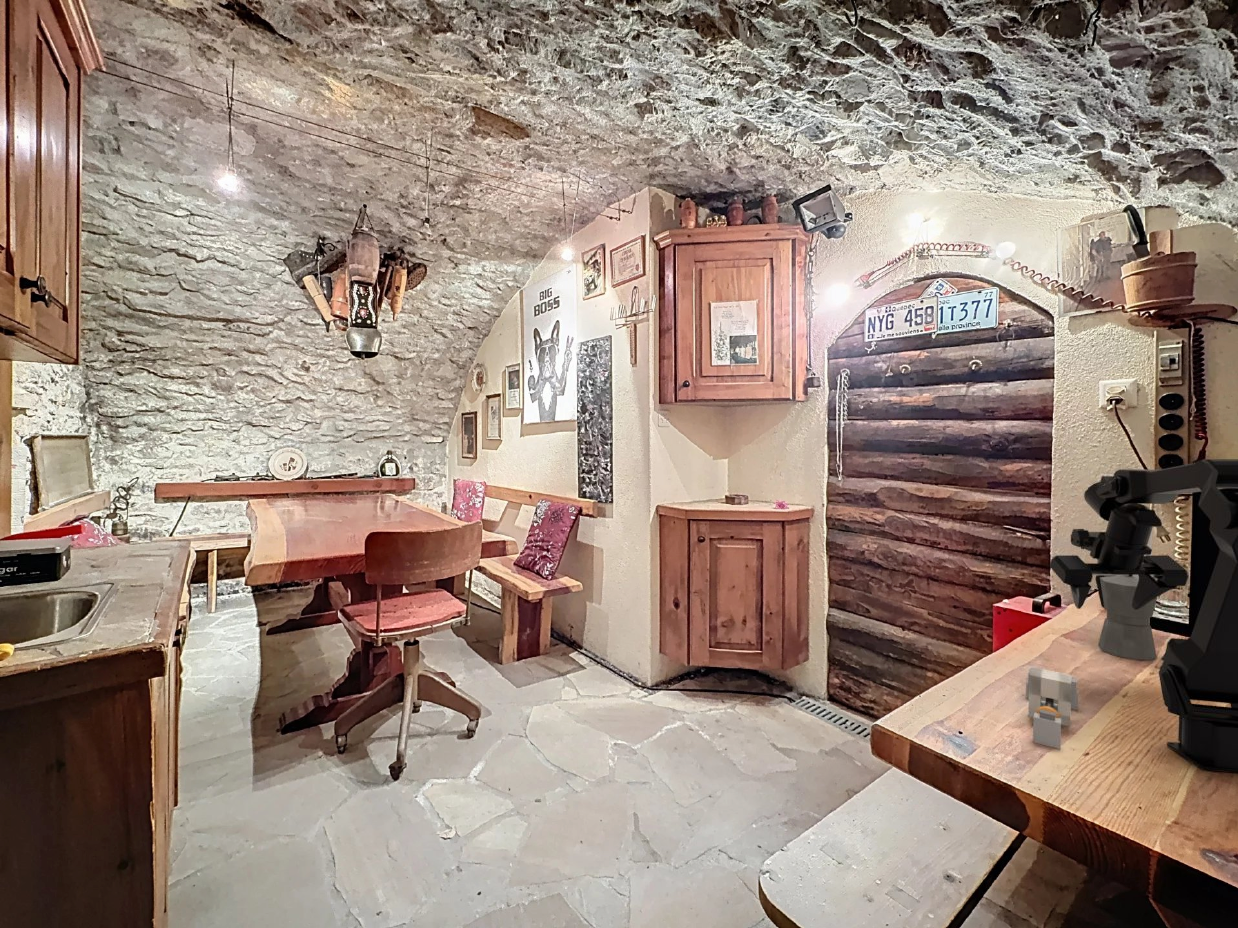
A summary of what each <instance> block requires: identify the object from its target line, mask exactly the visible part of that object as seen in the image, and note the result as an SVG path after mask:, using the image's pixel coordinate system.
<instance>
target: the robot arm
mask: <svg viewBox="0 0 1238 928" xmlns="http://www.w3.org/2000/svg"><path fill="white" fill-rule="evenodd" d="M1224 489H1238V458H1229V459H1228V458H1204V459H1201V460H1198V461H1196V462H1193V463H1188V464H1183V465H1177V466H1172V467H1167V468H1163V469H1138V468H1137V469H1131V468H1129V469H1128V468H1127V469H1126V468H1123V469H1118V470H1115V472H1114V473H1113V475H1111V476H1110V475H1101V478H1100V480H1099V481H1097V482H1094V483H1093V484H1091V485H1090V486H1089V487H1087V489H1086V490H1084V494H1083V498H1084V501H1085V502H1086V504H1088V506H1089V507H1091V509H1092V510H1093V511H1094V512H1095V514H1097V515H1098V516H1099V517H1100V518H1101V519H1103V521H1106V522H1108V523H1107V526H1106V530H1105V531H1089V530H1088V529H1084V528H1072V532H1071V534H1070V543H1071V545H1072V546H1075V547H1077V548H1080V549H1081V550H1086V551H1088V552H1089V556H1090V557H1091V558H1092V559H1094V560H1095V559H1096V561H1097V562H1096V563H1093V562H1092V563H1088V562H1085V561H1083V559H1082V558H1081V557H1079V556H1078V555H1067V554H1066V555H1060V554H1059V555H1054V556H1053V557H1052V558H1051V559H1050V563H1049V568H1050V569H1051V570H1052V571H1053V572H1054V574H1055V575H1056V576H1057V577H1058V578H1059V580H1061V581H1062V582H1063V584H1066V585H1068V586H1069V587H1070V591H1071V596H1072V599H1073V603H1074V606H1075V608H1077V609H1078V610H1080V609H1082V607H1083V606H1084V603H1086V599H1087V597H1088V595H1089V593H1090V590H1091V589H1092V586H1091V585H1090V583H1091V582H1092V580H1093V576H1097V575H1118V576H1128V575H1138V576H1139V581H1138V584H1137V587H1136V590H1135V594H1134V597H1133V601H1132V607H1133V608H1134V609H1135V610H1138V609H1140V608H1141V607H1143V606H1144V605H1146V604H1147V603H1149V602H1150V601H1151V600H1153V599H1155V598H1156V597H1157V598H1159V597H1160V596H1161V595H1164V594H1165V593H1168V592H1169V591H1171V590H1176V589H1177V588H1178V587H1186V586H1187V584H1188V582H1189V577H1190V575H1189V572H1188V570H1187V569H1186V568H1184V567H1183V566H1182V565H1181V564H1180V563H1178V562H1177V561H1176V560H1175V559H1173V558H1172V557H1171V556H1170V555H1167V554H1166V555H1165V554H1164V555H1159V554H1158V555H1151V552H1152V553H1153V548H1152V549H1151V548H1149V547H1148V546H1147V544H1148V541H1149V538H1150V535H1151V531H1152V528H1153V529H1154V527H1162V525H1163V523H1162V520H1161V518H1160V517H1159V516H1158V515H1157V513H1156V510H1154V509H1151V508H1150V507H1148V506H1147V505H1151V504H1152V505H1165V504H1168V503H1171V502H1172V501H1176V500H1177V499H1178V498H1179V495H1182V494H1183V495H1184V494H1191V493H1199V492H1201V493H1200V496H1199V497H1200V498H1199V501H1198V507H1199V508H1200V509H1201V510H1202V512H1203V513H1204V514H1205V515H1206V517H1208V519H1209V521H1210V524H1209V532H1210V534H1211V535H1212V537H1213V539H1214V541H1215V543H1216V545H1217V546H1218V548H1219V553H1218V555H1217V559H1216V562H1215V564H1214V567H1213V570H1212V573H1211V576H1210V579H1209V582H1208V585H1207V589H1206V591H1205V594H1204V596H1203V598H1202V599H1203V600H1202V603H1201V606H1200V608H1199V611H1198V615H1197V617H1196V619H1195V623H1194V626H1193V630H1192V633H1191V635H1190V636H1189V637H1188V638H1176V637H1175V638H1174V637H1171V638H1169V640H1168V641H1167V643H1166V647H1165V648H1166V649H1165V652H1164V654H1163V655H1162V656H1161V658H1160V659H1161V661H1163V662H1162V663H1161V665H1160V667H1159V670H1158V676H1159V683H1160V688H1161V694H1162V699H1163V703H1164V705H1165V707H1167V712H1168V713H1170V714H1173V715H1176V716H1178V731H1177V735H1178V737H1177V740H1178V742H1175V741H1167V742H1166V746H1167V747H1169V748H1170V749H1171V750H1173V751H1174V752H1176V753H1178V754H1179V755H1181V756H1182V757H1183V758H1185V759H1186V760H1187V761H1189V762H1190V763H1192V764H1193V765H1195V766H1197V767H1198V768H1200V769H1202V770H1203V771H1204V770H1205V771H1213V772H1214V771H1215V772H1230V773H1238V492H1228V493H1226V494H1224V493H1222V492H1221V491H1220V490H1224ZM1145 504H1147V505H1145ZM1144 555H1146V556H1144ZM1191 701H1201V702H1211V703H1221V704H1230V706H1221V705H1212V704H1201V703H1192V702H1191Z"/></svg>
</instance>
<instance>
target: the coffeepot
mask: <svg viewBox="0 0 1238 928" xmlns="http://www.w3.org/2000/svg"><path fill="white" fill-rule="evenodd" d="M1094 580H1095V584H1096V588H1097V592H1098V597H1099V602H1100V606H1101V608H1102V609H1105V611H1106V618H1104V621H1103V624H1102V628H1101V632H1100V635H1099V636H1100V637H1099V638H1098V640H1099V641H1098V644H1097V646H1098V647H1099V649H1100V650H1101V651H1102V652H1104V653H1106V654H1109V655H1112V656H1115V657H1119V658H1123V659H1126V660H1127V659H1129V660H1134V661H1152V660H1154V659H1156V658H1158V656H1157V650H1156V645H1155V641H1154V634H1153V630H1152V626H1151V625H1150V623H1149V617H1150V618H1153V616H1154V611H1155V607H1156V605H1157V604H1156V603H1157V600H1158V597H1156V598H1155V599H1153V600H1151V601H1150V602H1149V603H1147V604H1146V605H1144V606H1143V607H1141V608H1140V609H1138V610H1135V609H1134V608H1133V607H1132V601H1133V597H1134V594H1135V590H1136V587H1137V584H1138V581H1139V578H1137V577H1133V575H1128V576H1117V575H1095V579H1094Z"/></svg>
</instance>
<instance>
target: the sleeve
mask: <svg viewBox="0 0 1238 928" xmlns="http://www.w3.org/2000/svg"><path fill="white" fill-rule="evenodd" d="M1030 669H1031V670H1030V674H1029V699H1028V713H1027V714H1028V717H1030V718H1033V719H1034V712H1035V713H1036V711H1037V709H1038V708H1039V707H1041V706H1045V701H1042V697H1047V698H1051V699H1056V700H1058V704H1054V703H1053V709H1055V710H1056V711H1057V712H1058V714H1059V717H1060V719H1061V726H1067V727H1071V712H1072V711H1071V710H1072V709H1071V678H1072V677H1073V676H1072V674H1068V673H1063V672H1059V671H1058V672H1057V671H1053V670H1048V669H1043V668H1039V667H1033V666H1030Z"/></svg>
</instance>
